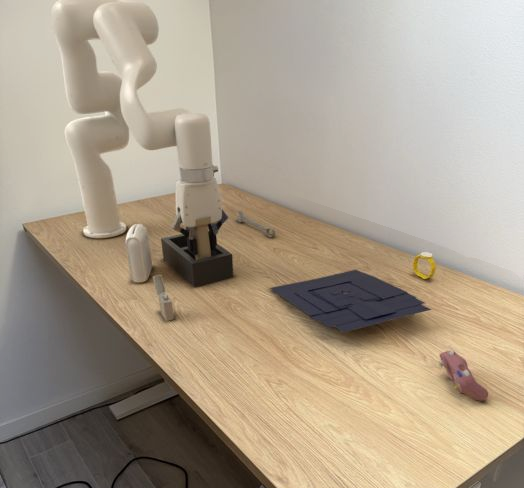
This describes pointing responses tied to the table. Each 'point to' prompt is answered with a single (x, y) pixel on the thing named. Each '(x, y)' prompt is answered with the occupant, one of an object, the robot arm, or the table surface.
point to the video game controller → (462, 376)
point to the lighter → (163, 298)
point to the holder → (196, 261)
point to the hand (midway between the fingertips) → (202, 250)
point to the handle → (202, 238)
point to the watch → (433, 267)
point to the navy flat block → (350, 300)
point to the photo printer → (138, 253)
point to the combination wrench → (255, 224)
